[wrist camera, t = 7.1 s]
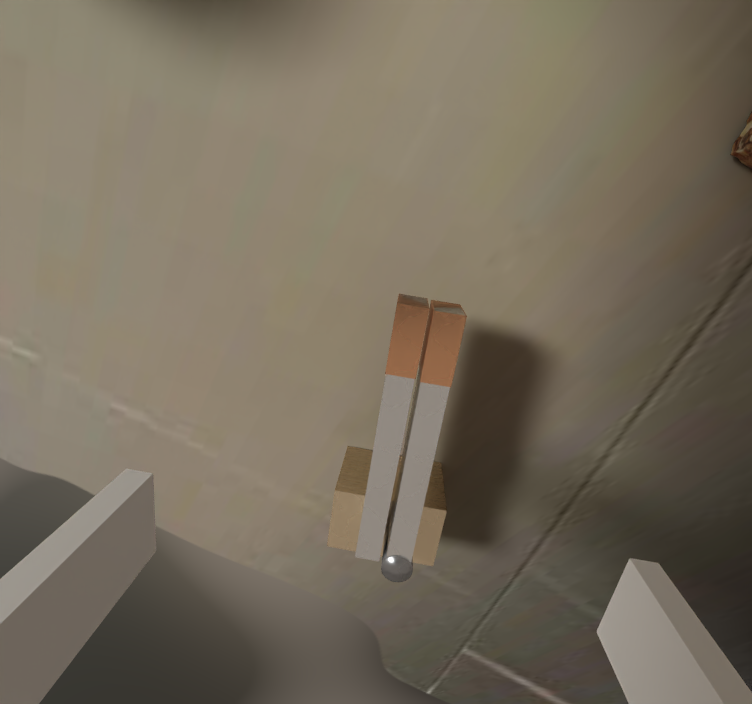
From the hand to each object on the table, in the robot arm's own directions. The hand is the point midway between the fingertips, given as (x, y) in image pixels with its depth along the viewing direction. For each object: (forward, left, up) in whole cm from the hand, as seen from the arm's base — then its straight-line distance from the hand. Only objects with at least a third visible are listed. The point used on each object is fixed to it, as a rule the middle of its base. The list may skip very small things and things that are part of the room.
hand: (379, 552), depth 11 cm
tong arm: (+4, +2, -15) cm, 15 cm away
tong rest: (+5, +1, -21) cm, 21 cm away
